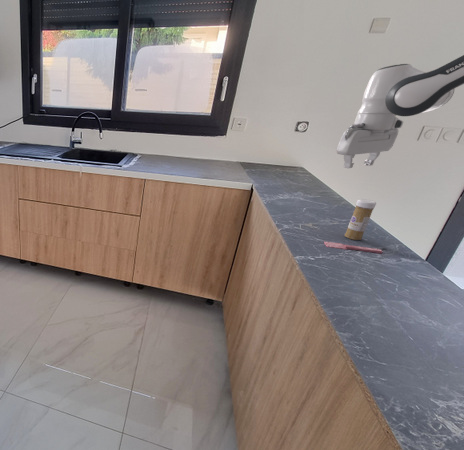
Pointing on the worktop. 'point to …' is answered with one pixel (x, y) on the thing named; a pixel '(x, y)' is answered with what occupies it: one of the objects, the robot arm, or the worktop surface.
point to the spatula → (351, 247)
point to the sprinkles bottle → (360, 219)
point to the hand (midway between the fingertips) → (357, 166)
